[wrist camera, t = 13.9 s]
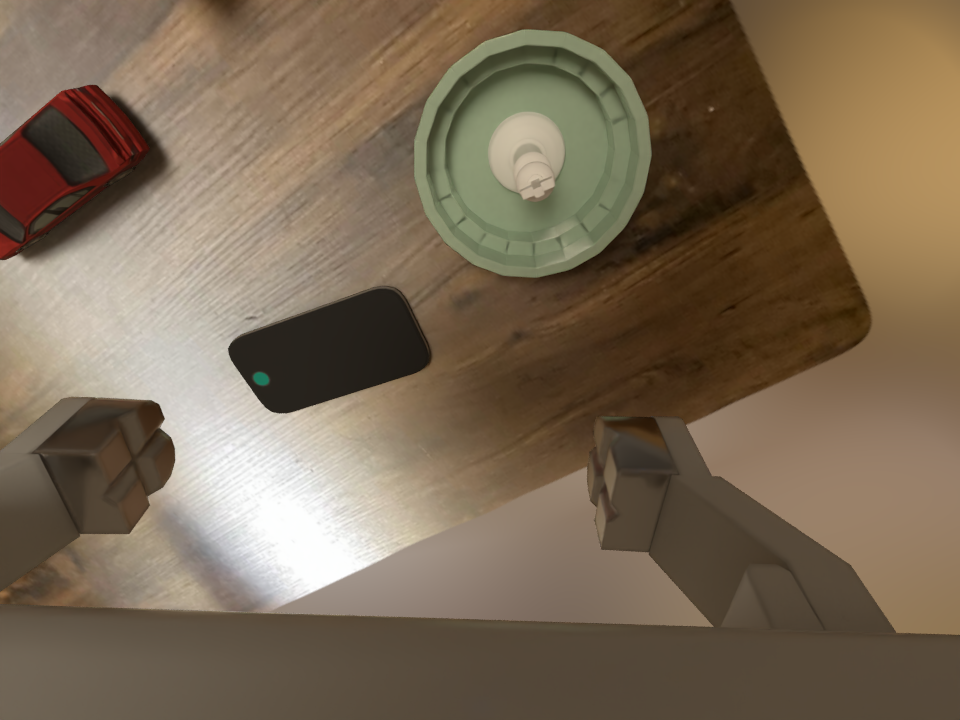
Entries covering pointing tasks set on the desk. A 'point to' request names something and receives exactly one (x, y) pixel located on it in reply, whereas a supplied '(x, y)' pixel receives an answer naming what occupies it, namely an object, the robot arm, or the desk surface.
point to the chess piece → (527, 154)
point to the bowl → (587, 165)
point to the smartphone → (331, 350)
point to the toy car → (62, 163)
